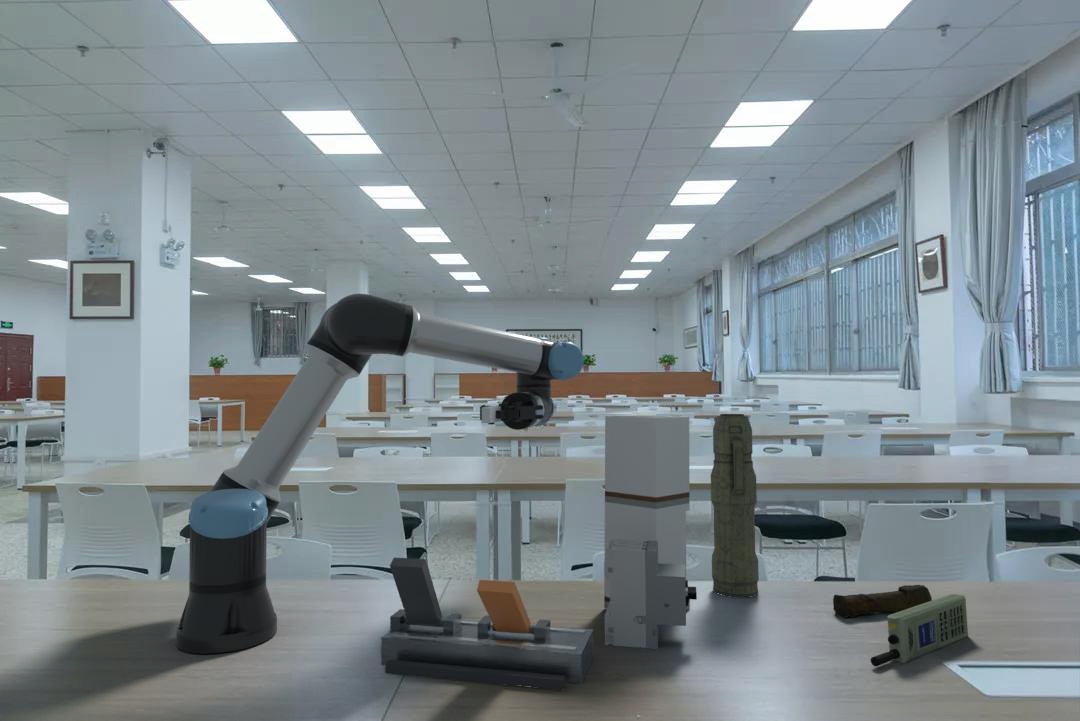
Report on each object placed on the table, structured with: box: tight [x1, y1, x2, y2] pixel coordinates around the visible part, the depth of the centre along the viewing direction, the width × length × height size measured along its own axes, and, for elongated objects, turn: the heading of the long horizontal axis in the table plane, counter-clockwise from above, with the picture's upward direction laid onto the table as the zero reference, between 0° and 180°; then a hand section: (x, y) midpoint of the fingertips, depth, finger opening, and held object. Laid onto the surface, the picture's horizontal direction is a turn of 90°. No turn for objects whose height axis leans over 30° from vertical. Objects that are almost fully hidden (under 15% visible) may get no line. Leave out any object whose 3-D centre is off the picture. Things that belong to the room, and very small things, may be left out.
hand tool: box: [832, 584, 933, 619], centre depth 124 cm, size 19×4×5 cm, turn 99°
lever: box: [476, 579, 535, 634], centre depth 99 cm, size 6×2×13 cm
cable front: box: [384, 660, 566, 691], centre depth 97 cm, size 26×1×1 cm, turn 76°
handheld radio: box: [870, 593, 969, 667], centre depth 107 cm, size 7×3×25 cm
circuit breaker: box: [603, 539, 698, 649], centre depth 113 cm, size 8×14×15 cm, turn 78°
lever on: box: [389, 557, 444, 627], centre depth 104 cm, size 6×2×13 cm
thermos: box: [710, 413, 760, 599], centre depth 139 cm, size 9×12×35 cm
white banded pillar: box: [603, 415, 691, 611], centre depth 129 cm, size 11×11×35 cm
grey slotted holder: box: [380, 608, 594, 684], centre depth 104 cm, size 30×10×6 cm, turn 76°
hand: (485, 415), depth 121 cm, fingers closed
